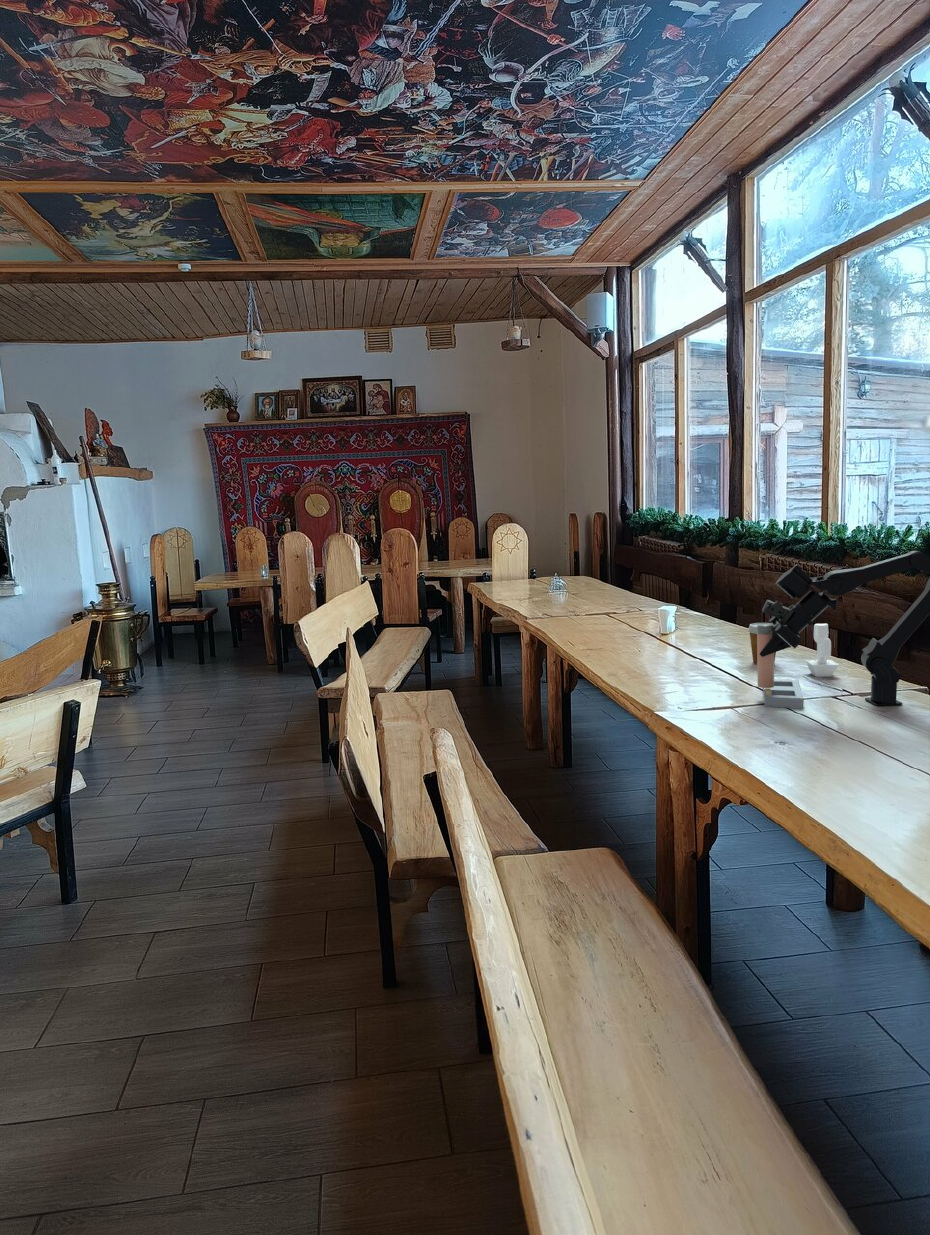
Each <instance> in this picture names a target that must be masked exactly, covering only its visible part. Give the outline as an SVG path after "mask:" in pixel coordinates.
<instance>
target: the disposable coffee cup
mask: <svg viewBox="0 0 930 1235" xmlns="http://www.w3.org/2000/svg"><path fill="white" fill-rule="evenodd" d="M761 624H771V625H774V624H773V623H771V622H755V623H750V624H749V626H748V628H747V630H748V632H749V638H750V647H751V657H752V663H753V664H756V665H757V625H761ZM776 653H777V652H775V653H774V663H775V662H776V661H775V660H776Z"/></svg>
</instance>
